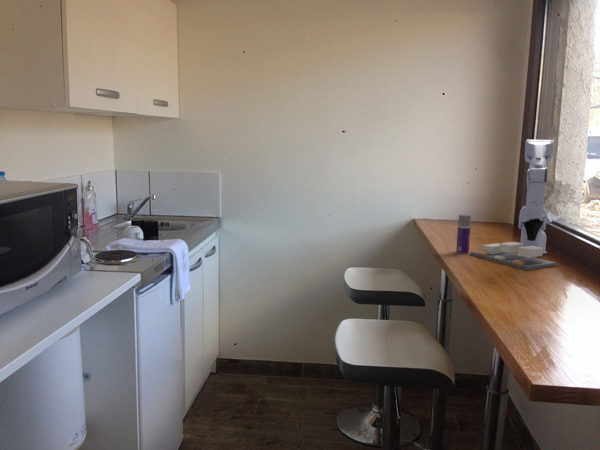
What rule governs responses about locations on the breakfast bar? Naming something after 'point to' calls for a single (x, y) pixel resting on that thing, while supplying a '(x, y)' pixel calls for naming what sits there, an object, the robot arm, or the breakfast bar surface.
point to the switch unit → (515, 260)
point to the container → (463, 234)
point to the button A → (492, 248)
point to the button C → (530, 251)
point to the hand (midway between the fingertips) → (531, 240)
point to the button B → (510, 247)
